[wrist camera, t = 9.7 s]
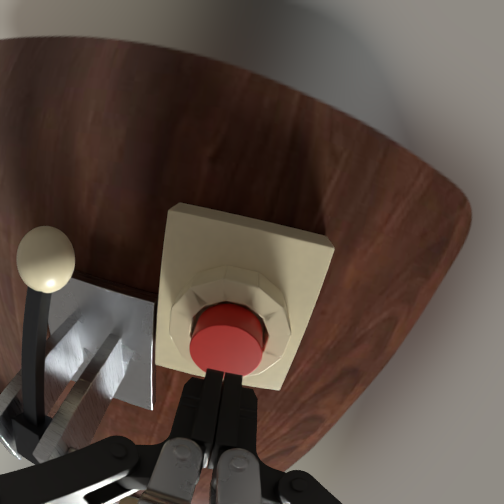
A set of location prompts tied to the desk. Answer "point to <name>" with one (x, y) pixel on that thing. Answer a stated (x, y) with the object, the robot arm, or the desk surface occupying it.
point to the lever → (38, 326)
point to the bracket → (89, 362)
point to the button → (227, 340)
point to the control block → (237, 284)
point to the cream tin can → (129, 500)
